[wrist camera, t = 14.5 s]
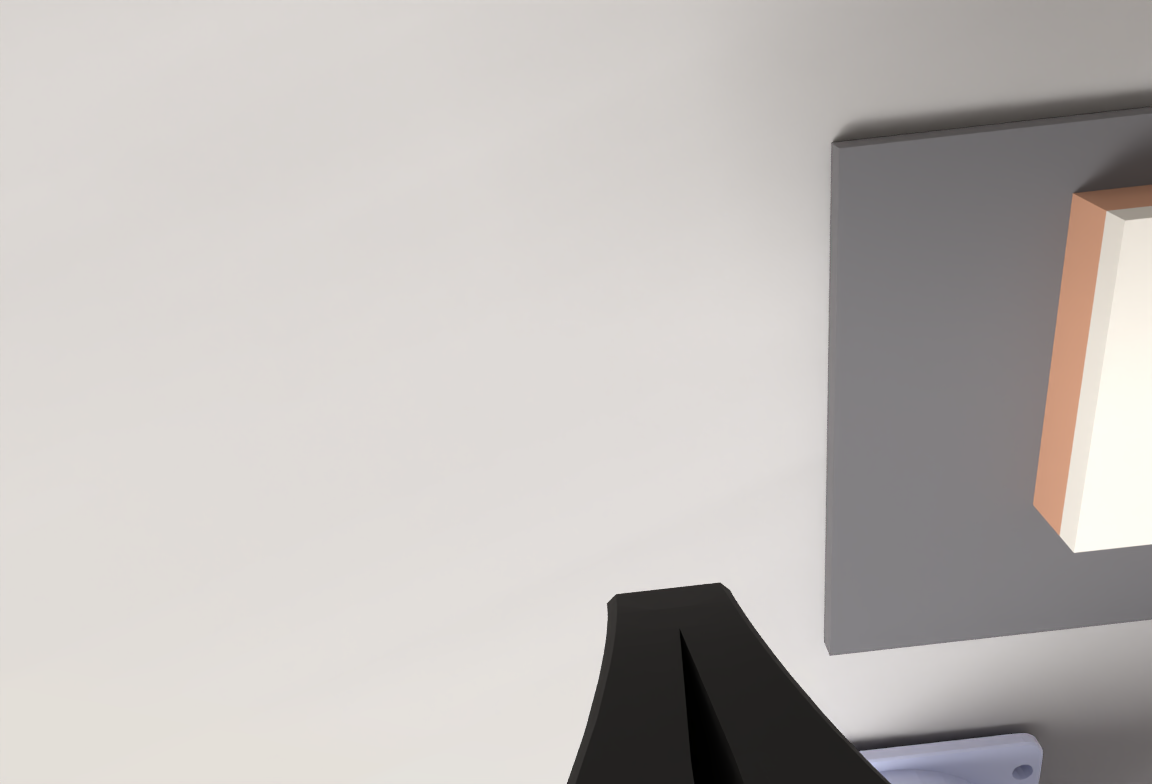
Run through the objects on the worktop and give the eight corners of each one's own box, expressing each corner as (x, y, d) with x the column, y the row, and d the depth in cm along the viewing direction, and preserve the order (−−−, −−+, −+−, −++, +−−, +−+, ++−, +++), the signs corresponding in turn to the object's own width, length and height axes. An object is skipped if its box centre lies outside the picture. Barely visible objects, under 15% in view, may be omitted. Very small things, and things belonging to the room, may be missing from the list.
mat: (1318, 585, 24) (1333, 598, 23) (823, 641, 24) (830, 655, 23) (1468, 71, 19) (1491, 75, 18) (831, 142, 18) (839, 148, 18)
